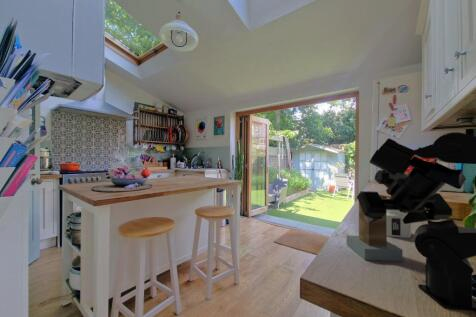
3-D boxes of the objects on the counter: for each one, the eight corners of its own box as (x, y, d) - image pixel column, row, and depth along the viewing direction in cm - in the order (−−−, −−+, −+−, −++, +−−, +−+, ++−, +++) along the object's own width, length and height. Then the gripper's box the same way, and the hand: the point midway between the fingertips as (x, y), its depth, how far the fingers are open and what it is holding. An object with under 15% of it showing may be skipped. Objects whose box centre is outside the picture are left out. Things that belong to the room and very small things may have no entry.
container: (411, 238, 72) (411, 201, 72) (386, 236, 74) (386, 200, 74) (398, 231, 80) (398, 197, 80) (376, 229, 81) (376, 196, 81)
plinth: (402, 260, 55) (402, 249, 56) (364, 260, 56) (364, 248, 56) (378, 245, 65) (378, 236, 66) (346, 245, 66) (346, 235, 66)
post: (386, 245, 58) (386, 196, 58) (368, 245, 58) (368, 196, 58) (375, 239, 63) (375, 193, 63) (358, 238, 63) (358, 193, 63)
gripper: (441, 160, 50) (406, 197, 60) (360, 159, 51) (341, 196, 62) (476, 198, 42) (429, 233, 52) (380, 196, 43) (354, 231, 54)
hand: (386, 221), depth 55 cm, fingers open, 9 cm apart
